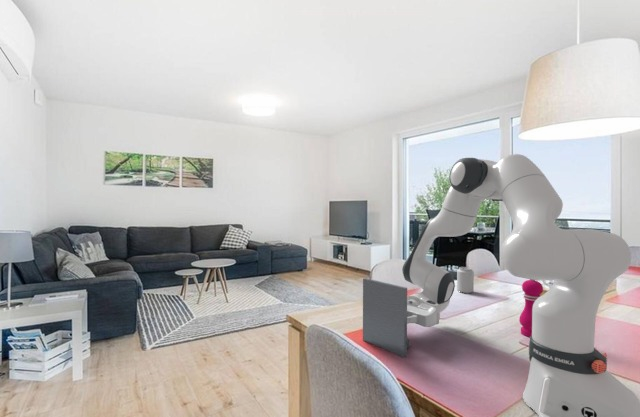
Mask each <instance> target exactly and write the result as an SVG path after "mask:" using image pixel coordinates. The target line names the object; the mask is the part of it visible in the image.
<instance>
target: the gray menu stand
mask: <svg viewBox="0 0 640 417" xmlns="http://www.w3.org/2000/svg"><path fill="white" fill-rule="evenodd" d="M407 296H408V287H405V286H401V285H397V284H392V283H388V282H383V281H379V280H375V279H371V278H367V277H365V278H363V279H362V341H364V342H365V343H369V344H371V345H373V346H375V347H378V348H380V349H383V350H384V351H386V352H387V351H388V352H389V353H393V354H394V355H396V356H398V357H402V358H406V357H407V356H408V353H407V352H408V348H409V347H410V346H411V345H410V344H411V343H410V341H411V340H410V339H409V338H408V324H407Z"/></svg>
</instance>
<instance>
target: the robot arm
mask: <svg viewBox="0 0 640 417" xmlns="http://www.w3.org/2000/svg"><path fill="white" fill-rule="evenodd" d="M449 182H450V187H449V189H448V191H447V192H446V195H445V197H444V200H443V202H442V205H441V209H440V211H439V212H438V214H437V215H436V216H434V217H431V218H430V219H429V220H428V221H427V222H426V224H425V225H424V227H423V229H422V231H421V233H420V234H419V237H418V239H417V240H416V242H415V244H414V247H413V248H412V250H411V252H410V254H409V255H408V257H407V259H406V260H405V261H404V263H403V266H402V275H403V278H404V280H405V281H406V282H408V283H410V284H412V285H415V286H416V287H418V288H420V289H422V291H421V292H417V293H414V294H411V295H407V325H408V324H416V325H419V326H422V327H425V328H431V327H433V326H436V325H439V324H440V319H441V313H442V312H444V311H445V310H446V309H447V308H448V306H449V305H450V302H451V301H450V299H451V298H452V297H453V294H454V292H455V287H456V283H455V279H454V277H453V274H452V273H451V272H449V271H448V270H446V269H444V268H442V267H440V266H437V265H435V264H434V263H432V262H430V261H428V260H427V258H426V257H427V254H428V252H429V250H430V248H431V247H432V246H433V242H434V241H435V240H436V239H437V238H439V237H445V238H446V237H449V238H451V237H452V238H453V237H461V236H464V235H466V234H468V233H469V232H470V231H471V230H472V228H473V227H474V226H475V222H476V219H477V216H478V214H479V210H480V206H481V204H482V203H483V201H486V200H487V199H488V200H491V201H492V202H503V204H504V206H505V207H506V210H507V212H508V214H509V217H510V219H511V223H512V230H511V232H510V233H509V234H508V235H507V236H506V238H504V240H503V241H502V245H501V247H500V257H501V258H500V259H501V261H502V264H503V266H504V268H505V269H506V270H507V271H508V272H509V274H511V275H512V276H514V277H518V278H522V279H526V280H530V279H531V280H535V281H538V282H540V281H553V282H552V284H551V286H550V288H549V289H547V291H546V292H545V293H544V294H543V293H542V294H541V295H540V297H539V298H537V299H536V301H535V302H534V304H533V308H532V336H530V337H529V341H528V357H529V362H530V363H529V364H530V365H529V370H528V375H527V380H526V384H525V387H524V389H523V393H522V395H523V396H522V400H523V399H524V400H523V401H524V403H525V402H526V403H525V405H527V406H528V408H530V407H531V408H532V409H533V410H532V409H531V408H530V409H531V410H532V411H534V410H535V411H534V412H535V414H536V415H537V416H538V415H539V416H538V417H640V399H639V398H638V396H637V395H636V393H635V392H633V391H632V390H631V389H629V388H628V387H627V386H626V385H624V383H622V382H621V381H620V380H619V379H617V378H616V377H615V376H614V375H613V374H612V373H611V372H609V371H608V370H607V367H608V360H607V359H608V358H607V356H608V355H607V352H604V353H601V352H600V351H599V350H597V348H596V347H595V337H596V336H595V334H596V320H597V314H598V309H599V306H600V304H601V302H602V300H603V297H604V295H605V294H606V292H607V291H608V289H609V287H610V286H611V284H612V283H613V282H614V281H615V280H616V279H617V278H619V277H620V276H621V275H623V274H624V273H626V272H627V271H628V269H629V268H630V265H631V262H632V252H631V249H630V246H629V245H628V243H627V241H626V240H625V239H624V238H622V236H620V235H618V234H616V233H611V232H608V231H603V230H599V229H592V228H590V229H589V228H587V229H586V228H584V229H581V228H575V229H573V228H570V229H568V228H565V229H564V228H561V227H560V226H558V225H557V224H556V223H555V221H556V220H557V219H558V218H559V217H560V216H561V213H562V211H563V205H564V204H563V200H562V198H561V197H560V195H559V194H558V192H557V191H556V190H555V188H554V187H553V185H552V183H551V182H550V181H549V180H548V178H547V177H546V175H545V174H544V173H543V171H542V170H541V169H540V167H538V166H537V165H536V164H535V163H534V162H533V161H532V160H531V159H530V158H528V156H526V155H524V154H519V153H515V154H514V153H513V154H508V155H506V156H504V157H502V158H501V159H499V160H498V161H497V162H496V161H494V160H489V159H481V158H476V157H462V158H460V159H458V160H456V162H455V163H454V164H453V165H452V166H451V169H450V171H449Z"/></svg>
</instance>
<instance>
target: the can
mask: <svg viewBox="0 0 640 417" xmlns="http://www.w3.org/2000/svg"><path fill="white" fill-rule="evenodd" d="M456 272H457V273H456V290H457V291H458V292H459V291H460V292H459V293H461V292H463V293H462V294H472V293H473V292H474V288H475V286H474V278H475V277H474V276H475V272H474V270H473V268H472V267H469V266H459V267H458V269H457V270H456Z"/></svg>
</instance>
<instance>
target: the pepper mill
mask: <svg viewBox="0 0 640 417" xmlns="http://www.w3.org/2000/svg"><path fill="white" fill-rule="evenodd" d="M521 288H522V292H524V293H523V299H524V302H525V303H524V308H523V310H522V312H521V313H520V316H519V320H518V322H519V323H520V325H521V327H520V335H522V336H525V337H526V338H527V337H528V338H530V336H532V308H533V304H534V302H535V301H536V299H537V298H539V297H540V296H541V295H542V294H543V292H544V289H543V288H544V286H543V285H542V284H541V283H540V281H538V280H531V279H526V280H525V281H524V282H523V283H522V285H521Z"/></svg>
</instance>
